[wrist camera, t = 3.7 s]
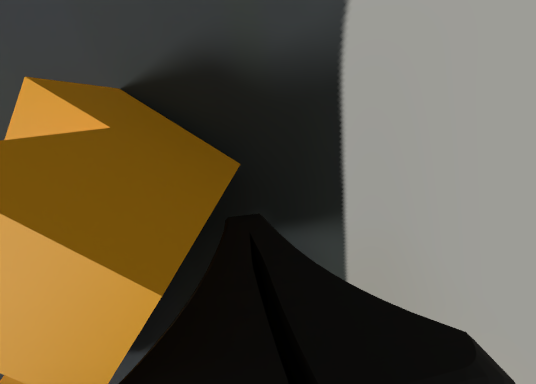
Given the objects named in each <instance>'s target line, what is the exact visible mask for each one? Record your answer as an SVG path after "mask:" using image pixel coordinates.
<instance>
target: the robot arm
mask: <svg viewBox="0 0 536 384" xmlns="http://www.w3.org/2000/svg"><path fill="white" fill-rule="evenodd" d="M119 384H515V382H514V381H513V380H512V379H511V378H510V377H509V376H508V375H507V374H506V373H505V371H503V369H502V368H501V367H500V366H499V365H498V364H497V363H496V362H495V361H494V360H493V359H492V358H491V357H490V356H489V355H488V354H487V353H486V352H485V351H484V350H483V349H482V348H481V347H480V346H479V345H478V344H477V342H475V340H474V339H472V338H471V337H470V336H469V335H468V334H467V333H466V332H464V331H461V330H459V329H456V328H453V327H450V326H447V325H445V324H442V323H439V322H437V321H434V320H431V319H428V318H426V317H423V316H420V315H417V314H415V313H412V312H410V311H407V310H405V309H402V308H400V307H398V306H396V305H393V304H391V303H389V302H386V301H384V300H382V299H380V298H377V297H375V296H373V295H371V294H369V293H367V292H365V291H363V290H361V289H359V288H357V287H355V286H353V285H351V284H350V283H348V282H346V281H344V280H342V279H341V278H339V277H337V276H335V275H334V274H332V273H330V272H329V271H327V270H326V269H324V268H323V267H321V266H320V265H318V264H316V263H315V262H314V261H312V260H311V259H309V258H308V257H307V256H305V255H304V254H303V253H301V252H300V251H299V250H298V249H297V248H295V247H294V246H293V245H292V244H291V243H289V242H288V241H287V240H286V239H285V238H284V237H283V236H282V235H281V234H279V233H278V232H277V231H276V230H275V229H274V228H273V227H272V226H271V225H270V224H269V223H268V222H267V221H266V219H265V218H264V217H263V216H262V215H260V214H252V215H244V216H236V217H228V218H227V220H226V221H225V228H224V232H223V235H222V238H221V241H220V243H219V246H218V248H217V251H216V253H215V255H214V257H213V259H212V261H211V263H210V265H209V267H208V269H207V271H206V273H205V275H204V277H203V278H202V280H201V282H200V283H199V285H198V287H197V288H196V290H195V291H194V293H193V295H192V296H191V298H190V299H189V301H188V302H187V303H186V305H185V306H184V308H183V309H182V310H181V312H180V313H179V315H178V316H177V317H176V319H175V320H174V321H173V323H172V324H171V325H170V326H169V328H168V329H167V330H166V331H165V332H164V334H163V335H162V336H161V337H160V338H159V340H158V341H157V342H156V343H155V344H154V345H153V347H152V348H151V349H150V350H149V351H148V352H147V354H146V355H145V356H144V357H143V358H142V359H141V361H140V362H139V363H138V364H137V365H136V366H135V367H134V368H133V369H132V370H131V372H130V373H129V374H128V375H127V376H126V377H125V378H124V379H123V380H122V381H121V382H120V383H119Z"/></svg>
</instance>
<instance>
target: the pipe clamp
mask: <svg viewBox="0 0 536 384" xmlns="http://www.w3.org/2000/svg"><path fill="white" fill-rule="evenodd" d="M239 166H240V163H238V162H236V161H235V160H233V159H232V158H230V157H228V156H227V155H225V154H224V153H222V152H220V151H219V150H217V149H215V148H214V147H212V146H211V145H209V144H207V143H206V142H204V141H203V140H201V139H199V138H198V137H196V136H195V135H193V134H191V133H190V132H188V131H187V130H185V129H183V128H182V127H180V126H178V125H177V124H175V123H174V122H172V121H170V120H169V119H167V118H166V117H164V116H162V115H161V114H159V113H158V112H156V111H154V110H153V109H151V108H149V107H148V106H146V105H145V104H143V103H141V102H140V101H138V100H137V99H135V98H133V97H132V96H130V95H129V94H127V93H125V92H124V91H122V90H121V89H118V88H110V87H102V86H94V85H86V84H78V83H71V82H63V81H55V80H47V79H39V78H31V77H25V78H24V81H23V84H22V87H21V90H20V94H19V97H18V100H17V103H16V106H15V109H14V112H13V115H12V118H11V121H10V125H9V128H8V131H7V134H6V137H5V140H1V141H0V373H1V374H4V377H3V378H2V379H1V381H0V384H108V383H109V381H110V380H111V378H112V376H113V375H114V373H115V371H116V370H117V368H118V367H119V365H120V363H121V362H122V360H123V359H124V357H125V355H126V354H127V352H128V351H129V349H130V347H131V346H132V344H133V342H134V341H135V339H136V338H137V336H138V334H139V333H140V331H141V330H142V328H143V326H144V325H145V323H146V321H147V320H148V318H149V317H150V315H151V313H152V312H153V310H154V309H155V307H156V305H157V304H158V302H159V300H160V299H161V297H162V296H163V294H164V292H165V291H166V289H167V287H168V285H169V284H170V282H171V280H172V279H173V277H174V275H175V274H176V272H177V270H178V269H179V267H180V265H181V264H182V262H183V260H184V259H185V257H186V255H187V253H188V252H189V250H190V248H191V247H192V245H193V243H194V242H195V240H196V238H197V237H198V235H199V233H200V232H201V230H202V228H203V226H204V225H205V223H206V221H207V220H208V218H209V216H210V215H211V213H212V211H213V210H214V208H215V206H216V205H217V203H218V201H219V200H220V198H221V196H222V194H223V193H224V191H225V189H226V188H227V186H228V184H229V183H230V181H231V179H232V178H233V176H234V174H235V173H236V171H237V169H238V168H239Z"/></svg>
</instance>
